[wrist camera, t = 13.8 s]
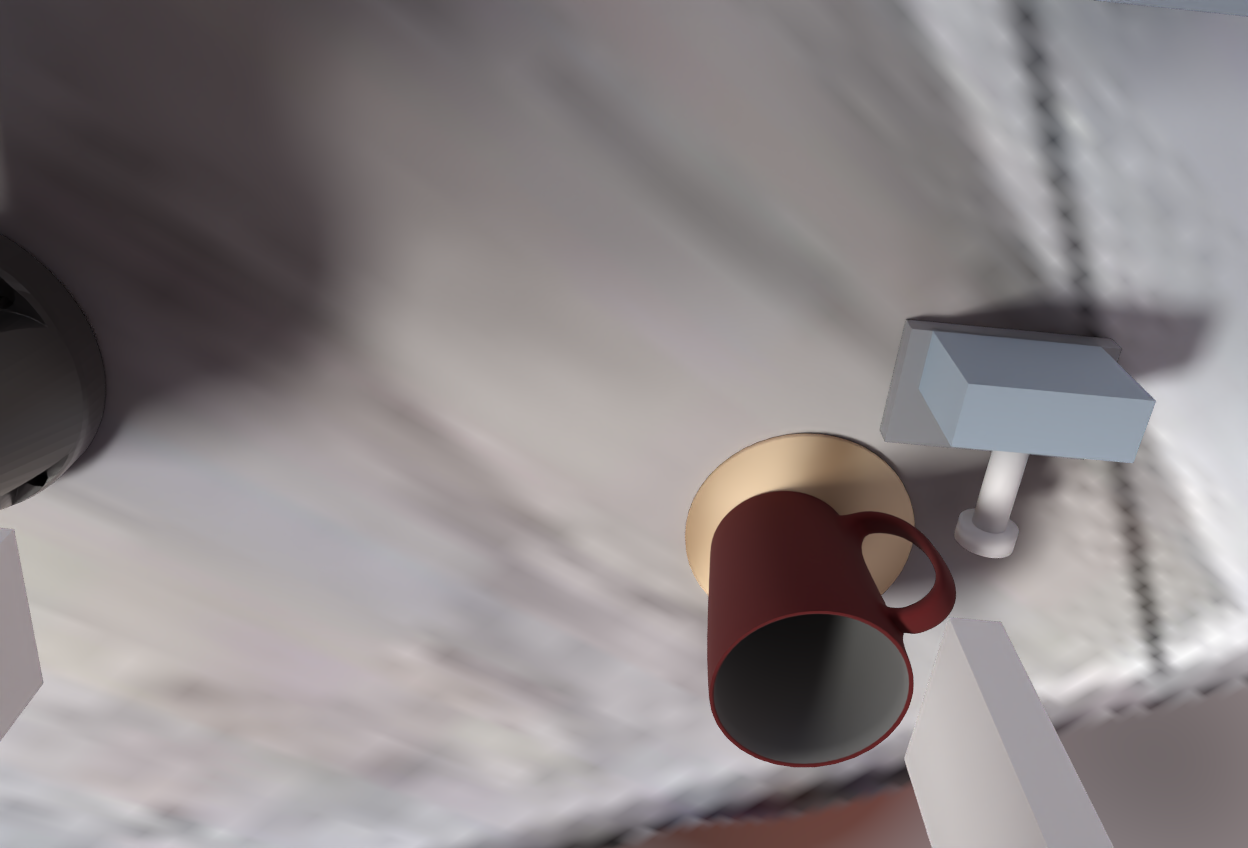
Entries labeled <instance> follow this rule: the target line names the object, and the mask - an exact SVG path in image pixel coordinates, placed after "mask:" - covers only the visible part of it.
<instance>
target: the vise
mask: <svg viewBox="0 0 1248 848" xmlns="http://www.w3.org/2000/svg"><path fill="white" fill-rule="evenodd" d="M1096 1H1106V2H1115V3H1125V4H1134V5H1143V6H1153V7H1162V8H1172V9H1181V10H1191V11H1200V12H1210V13H1219V14H1229V15H1238V16H1248V0H1096ZM1121 350H1122V348H1121V347H1120V346H1119V345H1118V344H1116V343H1115V342H1114V341H1113V340H1112V339H1108V338H1098V337H1087V336H1076V335H1066V334H1055V333H1045V332H1034V331H1023V330H1013V329H1002V328H991V327H981V326H970V325H960V324H949V323H938V322H928V321H917V320H906V321H905V326H904V330H903V334H902V338H901V342H900V347H899V351H898V355H897V359H896V364H895V368H894V372H893V376H892V381H891V385H890V389H889V393H888V398H887V402H886V406H885V410H884V415H883V419H882V423H881V427H880V432H881V434H882V437H883V439H884V441H885V442H893V443H904V444H915V445H926V446H937V447H948V448H959V449H970V450H982V451H992V453H991V456H990V460H989V463H988V466H987V470H986V473H985V477H984V480H983V483H982V487H981V490H980V494H979V497H978V500H977V504H976V507H975V509H967V510H965V511H963V512H961V514H960V515H959V519H958V522H957V526H956V529H955V532H954V537H955V540H956V541H957V542H958V544H959V545H961V546H962V547H963V548H965V549H966V550H968V551H970V552H972V553H974V554H977V555H980V556H984V557H988V558H1003V557H1007V556H1009V555H1010V554H1012V552H1013V549H1014V546H1015V543H1016V540H1017V537H1018V534H1019V529H1018V527H1017V525H1016V524H1015V523H1014V522H1013V521H1012V520H1010V519H1009V518H1010V514H1011V511H1012V508H1013V505H1014V502H1015V499H1016V495H1017V492H1018V489H1019V486H1020V483H1021V479H1022V476H1023V473H1024V470H1025V467H1026V464H1027V460H1028V457H1029V455H1037V456H1048V457H1059V458H1071V459H1082V460H1084V459H1094V460H1105V461H1116V462H1127V463H1133V462H1134V459H1135V457H1136V454H1137V451H1138V449H1139V446H1140V443H1141V440H1142V438H1143V435H1144V432H1145V430H1146V427H1147V424H1148V421H1149V419H1150V416H1151V413H1152V411H1153V408H1154V405H1155V402H1156V401H1155V400H1154V399H1153V398H1152V397H1151V396H1150V395H1149V394H1148V393H1147V392H1146V391H1145V390H1144V389H1143V388H1142V387H1141V386H1140V385H1139V384H1138V383H1137V382H1136V381H1135V380H1134V379H1133V378H1132V377H1131V376H1130V375H1129V374H1128V373H1127V372H1126V371H1125V370H1124V369H1123V368H1122V367H1121V366H1120V365H1119V364H1118V363H1117V362H1118V359H1119V356H1120V353H1121Z"/></svg>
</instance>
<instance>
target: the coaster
mask: <svg viewBox="0 0 1248 848" xmlns="http://www.w3.org/2000/svg"><path fill="white" fill-rule="evenodd" d="M775 491H794V492H801V493H805V494H808V495H812V496H814V497H816V498H819V499H821V500H822V501H824V502H826V503H827V504H828V505H830V506H831V507H832V508H833V509H834V510H835V511H836V512H837V513H838V514H839V515H848V514H853V513H857V512H863V511H875V512H882V513H887V514H890V515H893V516H896V517H898V518H901V519H903V520H904V521H906V522H908V523H910V524H911V525H913V526H914V515H913V509H912V505H911V502H910V498H909V496H908V494H907V492H906V490H905V488H904V485H903V483H902V482H901V480H900V479H899V477H898V476H897V474H896V473H895V471H894V470H893V469H892V468H891V467H890V466H889V465H888V464H887V463H886V462H885V461H884V460H883V459H881V458H880V457H879V456H877V455H876V454H875V453H873V452H872V451H870V450H868V449H867V448H865V447H863V446H861V445H859V444H856V443H854V442H852V441H849V440H846V439H842V438H839V437H835V436H829V435H823V434H805V433H803V434H791V435H784V436H779V437H774V438H770V439H767V440H764V441H761V442H758V443H756V444H753V445H751V446H749V447H747V448H744V449H743V450H741V451H739V452H738V453H736V454H734V455H733V456H731V457H730V458H728V459H727V460H726V461H724V462H723V463H722V464H721V465H719V466H718V467H717V468H716V469H715V470H714V471H713V472H712V473H711V474H710V475H709V476H708V478H707V479H706V480H705V482H704V483H703V484H702V486H701V487H700V488H699V490H698V492H697V494H696V496H695V497H694V499H693V502H692V504H691V507H690V509H689V513H688V517H687V521H686V531H685V541H686V552H687V557H688V561H689V565H690V567H691V569H692V572H693V574H694V576H695V578H696V580H697V581H698V583H699V584H700V586H701V587H702V589H703V590H704V591H705V592H706V593H707V595H708V596H709V568H710V550H711V543H712V538H713V536H714V533H715V531H716V529H717V527H718V525H719V524H720V522H721V521H722V519H723V518H724V517H725V516H726V515H727V514H728V513H729V512H730V511H731V510H732V509H733V508H735V507H736V506H737V505H739V504H740V503H742V502H744V501H746V500H747V499H750V498H752V497H754V496H757V495H760V494H764V493H768V492H775ZM911 548H912V542H910V541H908V540H906V539H904V538H902V537H899V536H895V535H891V534H884V533H874V534H869V535H867V536H866V537H865V538H864V540H863V543H862V554H863V557H864V560H865V563H866V565H867V567H868V570H869V572H870V574H871V576H872V578H873V580H874V582H875V584H876V586H877V588H878V590H879V592H880V594H881V595H882V594H883V593H884V592H885V591H886V590H887V589H888V588H889V587H890V586H891V585H892V584H893V582H894V581H895V580H896V578H897V577H898V575H899V574H900V573H901V571H902V569H903V567H904V565H905V563H906V561H907V560H908V557H909V554H910V551H911Z"/></svg>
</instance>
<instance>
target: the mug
mask: <svg viewBox="0 0 1248 848" xmlns="http://www.w3.org/2000/svg"><path fill="white" fill-rule="evenodd" d="M874 533H884V534H891V535H895V536H899V537H902V538H904V539H906V540H908V541H910V542H912V543H913V544H915V545H916V546H917V547H919V548H920V549H921V550H922V551H923V552H924V553H925V554H926V555H927V556H928V557H929V559H930V561H931V562H932V564H933V566H934V569H935V572H936V580H935V584H934V586H933V588H932V589H931V591H930V592H929V593H928V594H927V595H926V596H925V597H924V598H922V599H921V600H920V601H918V602H916V603H914V604H912V605H909V606H907V607H903V608H890V607H887V606H886V604H885V602H884V600H883V598H882V596H881V594H880V592H879V590H878V588H877V586H876V584H875V582H874V580H873V578H872V576H871V574H870V572H869V570H868V567H867V565H866V563H865V560H864V557H863V554H862V543H863V540H864V538H865V537H866V536H867V535H869V534H874ZM955 599H956V590H955V584H954V580H953V578H952V575H951V573H950V571H949V569H948V567H947V565H946V563H945V562H944V560H943V559H942V557H941V555H940V554H939V553H938V551H937V550H936V549H935V547H934V546H933V545H932V543H931V542H930V541H929V540H928V539H927V538H926V537H925V536H924V535H923V534H922V533H921V532H920V531H919V530H918V529H917V528H915V527H914V526H913V525H911V524H910V523H908V522H906V521H904V520H903V519H901V518H898V517H896V516H893V515H890V514H887V513H882V512H875V511H863V512H857V513H853V514H848V515H839V514H838V513H837V512H836V511H835V510H834V509H833V508H832V507H831V506H830V505H828V504H827V503H826V502H824V501H822V500H821V499H819V498H816V497H814V496H812V495H808V494H805V493H801V492H794V491H775V492H768V493H764V494H760V495H757V496H754V497H752V498H750V499H747V500H746V501H744V502H742V503H740V504H739V505H737V506H736V507H735V508H733V509H732V510H731V511H730V512H729V513H728V514H727V515H726V516H725V517H724V518H723V519H722V521H721V522H720V524H719V525H718V527H717V529H716V531H715V533H714V536H713V538H712V543H711V550H710V568H709V597H708V634H707V662H708V687H709V699H710V705H711V710H712V713H713V716H714V718H715V721H716V723H717V725H718V726H719V728H720V729H721V731H722V732H723V733H724V735H725V736H726V737H727V738H728V739H729V740H730V741H731V742H732V743H733V744H735V745H736V746H737V747H738V748H739V749H741V750H743V751H744V752H746V753H748V754H750V755H752V756H753V757H755V758H758V759H761V760H763V761H766V762H770V763H773V764H777V765H783V766H790V767H819V766H825V765H831V764H836V763H839V762H843V761H846V760H849V759H852V758H855V757H857V756H859V755H861V754H863V753H865V752H867V751H869V750H871V749H872V748H874V747H875V746H876V745H878V744H879V743H881V742H882V741H883V740H884V739H886V738H887V737H888V736H889V735H890V734H891V733H892V732H893V731H894V730H895V728H896V727H897V726H898V725H899V724H900V722H901V721H902V719H903V717H904V716H905V714H906V712H907V710H908V708H909V705H910V702H911V699H912V694H913V673H912V668H911V664H910V661H909V658H908V656H907V653H906V650H905V647H904V643H903V635H904V633H911V634H916V633H921V632H924V631H927V630H929V629H931V628H933V627H935V626H937V625H938V624H940V623H941V622H942V621H943V620H944V619H946V617H947V616H948V615H949V614H950V612H951V611H952V609H953V607H954V604H955Z"/></svg>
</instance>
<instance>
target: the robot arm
mask: <svg viewBox="0 0 1248 848" xmlns="http://www.w3.org/2000/svg"><path fill="white" fill-rule="evenodd" d="M105 392H106V391H105V374H104V368H103V362H102V358H101V355H100V351H99V348H98V345H97V342H96V339H95V337H94V335H93V332H92V330H91V328H90V326H89V324H88V322H87V320H86V318H85V317H84V315H83V313H82V312H81V310H80V308H79V307H78V305H77V304H76V302H75V301H74V299H73V298H72V297H71V295H70V294H69V293H68V292H67V290H66V289H65V288H64V287H63V285H62V284H61V283H60V282H59V281H58V280H57V279H56V278H55V276H54V275H53V274H52V273H51V272H50V271H49V270H48V269H47V268H46V267H44V266H43V265H42V264H41V263H40V262H39V261H38V260H37V259H35V258H34V257H33V256H32V255H30V254H29V253H28V252H27V251H25V250H24V249H23V248H21V247H20V246H18V245H17V244H15V243H14V242H12V241H11V240H9V239H8V238H6V237H4V236H3V235H1V234H0V510H2V509H4V508H7V507H9V506H12V505H15V504H17V503H20V502H22V501H24V500H26V499H29V498H31V497H33V496H34V495H36V494H38V493H39V492H41V491H43V490H44V489H46V488H47V487H48V486H50V485H51V484H52V483H54V482H55V481H56V480H57V479H58V478H59V477H60V476H61V475H62V474H63V473H64V472H65V471H66V470H67V469H68V468H69V467H70V466H71V465H72V464H73V463H74V462H75V461H76V460H77V459H78V458H79V457H80V456H81V455H82V454H83V453H84V451H85V450H86V449H87V447H88V446H89V445H90V443H91V441H92V440H93V438H94V436H95V434H96V432H97V430H98V427H99V425H100V422H101V418H102V415H103V410H104V404H105ZM42 684H43V678H42V672H41V667H40V662H39V657H38V651H37V646H36V641H35V636H34V631H33V625H32V620H31V615H30V610H29V604H28V599H27V594H26V589H25V583H24V578H23V573H22V568H21V562H20V557H19V552H18V547H17V542H16V536H15V531H14V529H8V528H0V741H1V740H2V738H3V737H4V736H5V734H6V733H7V732H8V730H9V729H10V727H11V726H12V725H13V723H14V722H15V721H16V719H17V718H18V717H19V715H20V714H21V713H22V711H23V710H24V709H25V707H26V706H27V705H28V703H29V702H30V701H31V699H32V698H33V696H34V695H35V694H36V692H37V691H38V690H39V688H40V687H41V686H42ZM904 760H905V763H906V766H907V769H908V772H909V776H910V779H911V782H912V785H913V789H914V792H915V795H916V798H917V801H918V805H919V808H920V811H921V814H922V818H923V821H924V824H925V827H926V831H927V834H928V837H929V840H930V844H931V847H932V848H1114V847H1113V845H1112V843H1111V841H1110V839H1109V837H1108V835H1107V833H1106V831H1105V829H1104V827H1103V825H1102V823H1101V821H1100V819H1099V817H1098V815H1097V813H1096V811H1095V809H1094V807H1093V805H1092V803H1091V801H1090V799H1089V797H1088V795H1087V793H1086V791H1085V789H1084V787H1083V785H1082V783H1081V781H1080V779H1079V777H1078V775H1077V773H1076V771H1075V769H1074V767H1073V765H1072V763H1071V761H1070V759H1069V757H1068V755H1067V753H1066V751H1065V749H1064V747H1063V745H1062V743H1061V741H1060V739H1059V737H1058V735H1057V733H1056V731H1055V729H1054V727H1053V725H1052V723H1051V721H1050V719H1049V717H1048V715H1047V713H1046V711H1045V709H1044V707H1043V705H1042V703H1041V701H1040V699H1039V697H1038V695H1037V693H1036V691H1035V689H1034V687H1033V685H1032V683H1031V681H1030V679H1029V676H1028V674H1027V672H1026V670H1025V668H1024V666H1023V664H1022V662H1021V660H1020V658H1019V656H1018V654H1017V652H1016V650H1015V648H1014V646H1013V644H1012V642H1011V640H1010V638H1009V636H1008V634H1007V632H1006V630H1005V628H1004V626H1003V624H1002V622H996V621H986V620H975V619H964V618H954V617H949V618H948V621H947V625H946V628H945V631H944V634H943V637H942V641H941V644H940V647H939V650H938V653H937V656H936V660H935V663H934V666H933V669H932V672H931V675H930V679H929V682H928V685H927V688H926V691H925V695H924V698H923V701H922V704H921V707H920V710H919V714H918V717H917V720H916V723H915V726H914V730H913V733H912V736H911V739H910V742H909V745H908V749H907V752H906V755H905V758H904Z"/></svg>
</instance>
